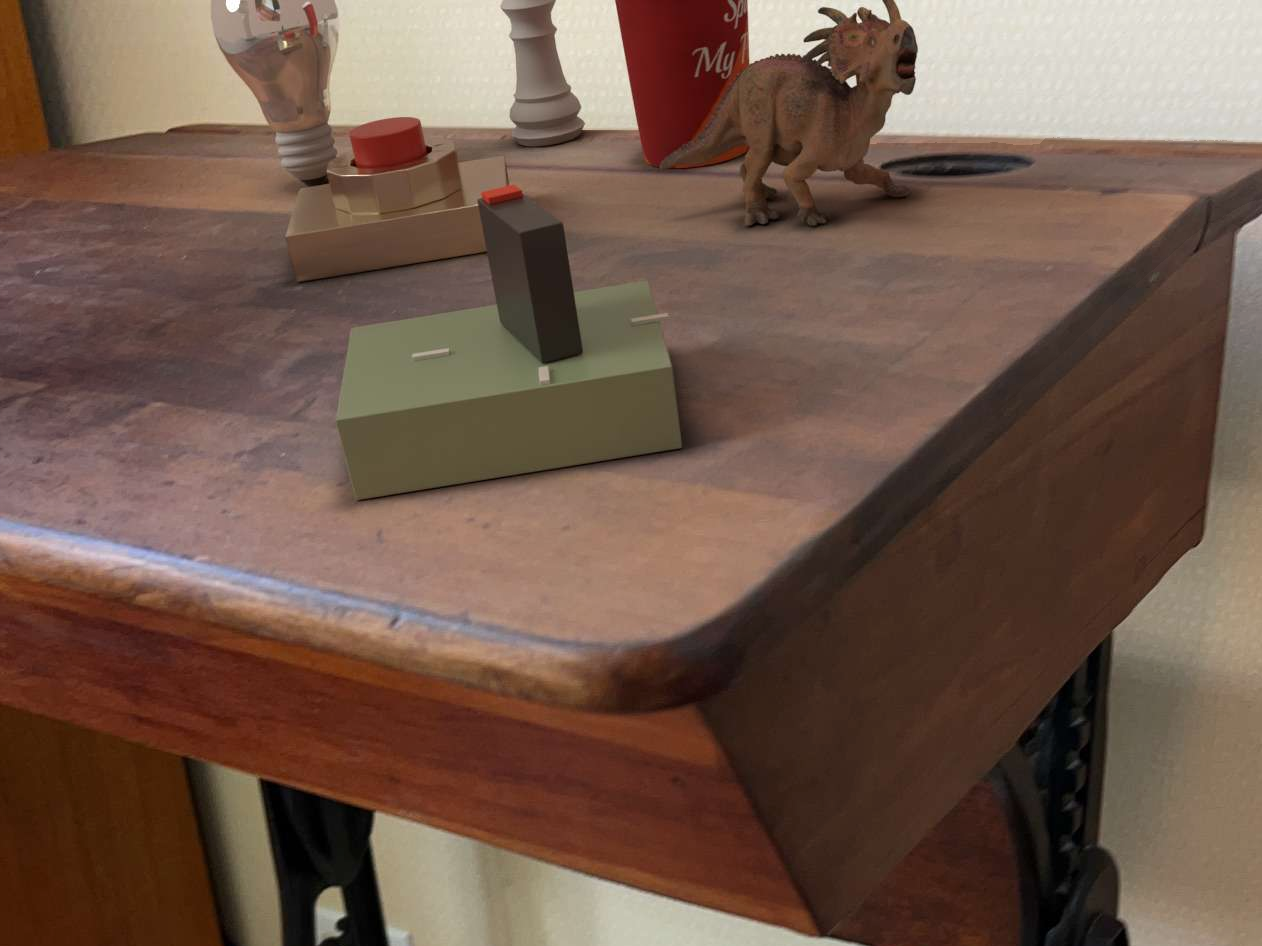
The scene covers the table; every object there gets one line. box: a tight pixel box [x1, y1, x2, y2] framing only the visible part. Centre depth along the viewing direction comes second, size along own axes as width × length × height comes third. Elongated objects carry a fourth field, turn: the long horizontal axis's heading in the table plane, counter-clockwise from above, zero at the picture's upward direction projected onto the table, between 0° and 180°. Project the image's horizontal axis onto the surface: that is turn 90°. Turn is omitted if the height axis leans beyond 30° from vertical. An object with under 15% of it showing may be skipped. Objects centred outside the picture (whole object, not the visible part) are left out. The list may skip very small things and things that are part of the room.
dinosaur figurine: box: [659, 0, 919, 227], centre depth 77 cm, size 14×6×9 cm, turn 63°
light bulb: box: [210, 0, 341, 186], centre depth 93 cm, size 7×7×12 cm
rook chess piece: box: [499, 0, 586, 147], centre depth 95 cm, size 4×4×8 cm
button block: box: [284, 136, 511, 283], centre depth 84 cm, size 11×9×4 cm
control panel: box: [335, 280, 683, 501], centre depth 62 cm, size 12×10×3 cm
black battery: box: [477, 184, 583, 363], centre depth 60 cm, size 6×2×5 cm, turn 21°
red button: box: [348, 116, 427, 168], centre depth 82 cm, size 4×4×2 cm
